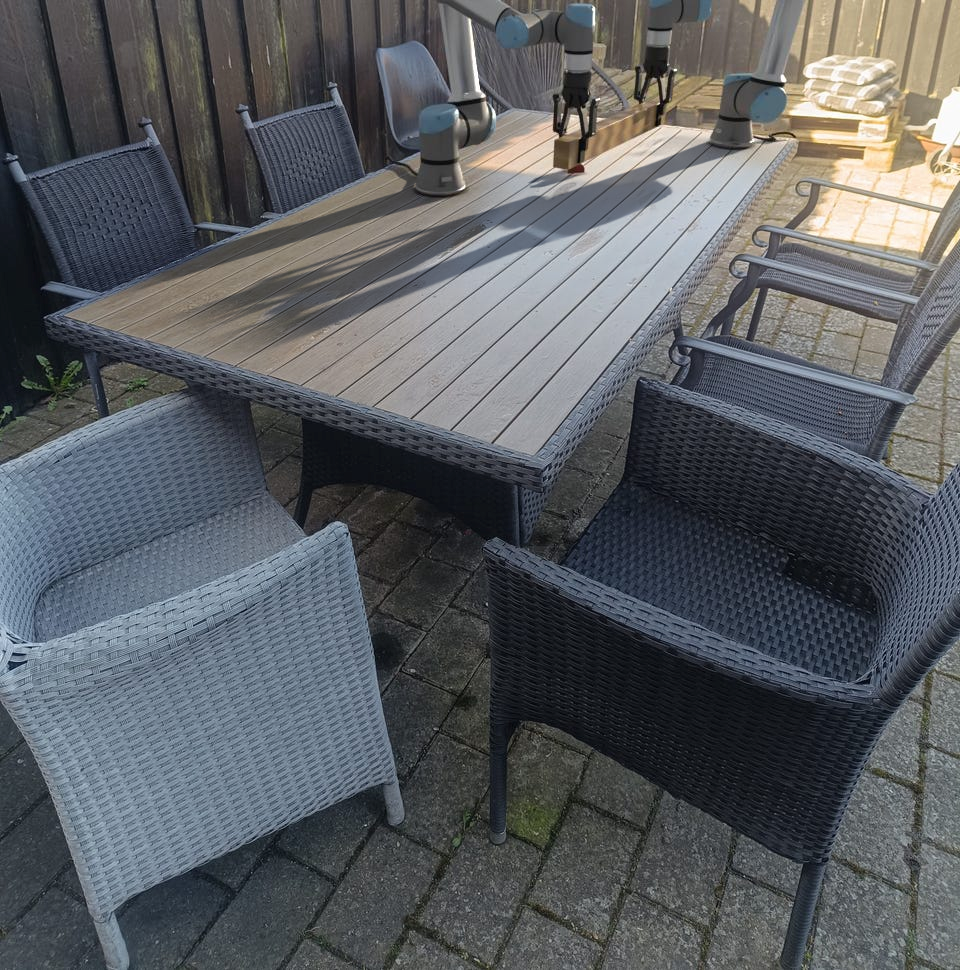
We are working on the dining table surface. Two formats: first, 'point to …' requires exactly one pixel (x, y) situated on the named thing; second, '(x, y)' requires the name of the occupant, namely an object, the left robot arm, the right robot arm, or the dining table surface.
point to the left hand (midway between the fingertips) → (572, 160)
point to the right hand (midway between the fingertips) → (650, 124)
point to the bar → (607, 134)
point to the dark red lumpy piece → (577, 169)
